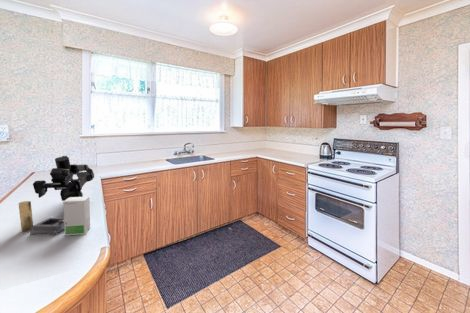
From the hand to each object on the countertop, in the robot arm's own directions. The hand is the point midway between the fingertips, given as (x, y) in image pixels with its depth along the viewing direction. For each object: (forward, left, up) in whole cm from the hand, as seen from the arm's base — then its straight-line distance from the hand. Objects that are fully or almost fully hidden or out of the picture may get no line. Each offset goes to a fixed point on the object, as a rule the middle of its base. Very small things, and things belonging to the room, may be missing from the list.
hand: (51, 196), depth 101 cm
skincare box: (+10, +10, -16) cm, 21 cm away
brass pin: (-4, -10, -15) cm, 19 cm away
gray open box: (+2, 0, -15) cm, 16 cm away
